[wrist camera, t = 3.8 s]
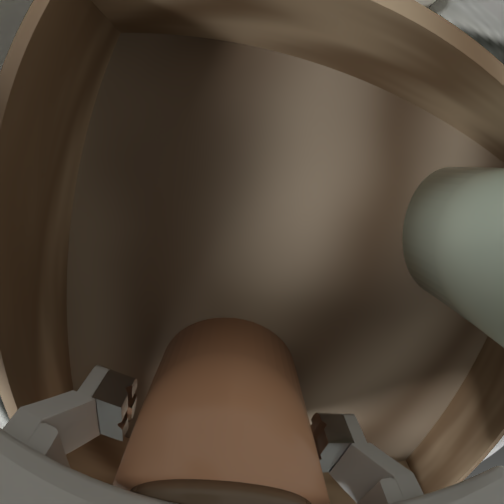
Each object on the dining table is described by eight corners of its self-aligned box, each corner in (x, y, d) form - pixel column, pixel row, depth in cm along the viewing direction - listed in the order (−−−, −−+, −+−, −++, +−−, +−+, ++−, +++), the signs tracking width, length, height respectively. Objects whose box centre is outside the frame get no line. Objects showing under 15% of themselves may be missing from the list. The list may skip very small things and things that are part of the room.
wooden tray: (71, 416, 12) (37, 475, 8) (115, 22, 8) (58, -39, 3) (405, 461, 14) (429, 510, 9) (533, 178, 10) (598, 188, 5)
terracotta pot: (157, 404, 11) (118, 532, 5) (171, 302, 10) (93, 452, 4) (272, 426, 12) (287, 555, 5) (313, 333, 11) (376, 486, 4)
